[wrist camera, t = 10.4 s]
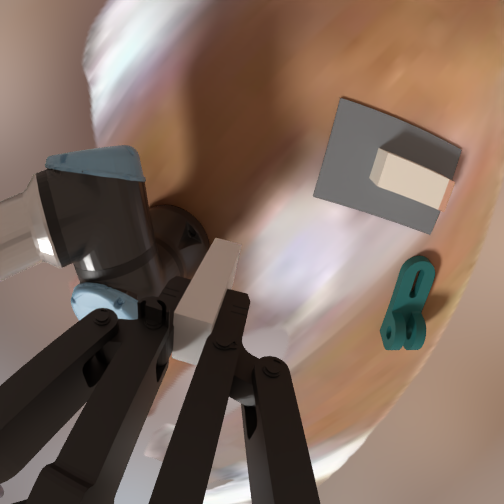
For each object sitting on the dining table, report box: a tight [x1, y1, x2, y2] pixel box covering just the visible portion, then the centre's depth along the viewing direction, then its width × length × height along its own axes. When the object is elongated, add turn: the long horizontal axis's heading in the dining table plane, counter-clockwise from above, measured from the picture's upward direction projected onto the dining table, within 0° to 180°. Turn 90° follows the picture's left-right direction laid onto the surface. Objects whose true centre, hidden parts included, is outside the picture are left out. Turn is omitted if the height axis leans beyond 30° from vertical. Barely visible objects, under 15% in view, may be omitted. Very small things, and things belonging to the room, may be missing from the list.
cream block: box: [369, 148, 455, 212], centre depth 37 cm, size 5×5×12 cm
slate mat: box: [313, 98, 461, 235], centre depth 40 cm, size 22×16×1 cm
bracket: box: [380, 256, 435, 350], centre depth 46 cm, size 18×7×8 cm, turn 179°
